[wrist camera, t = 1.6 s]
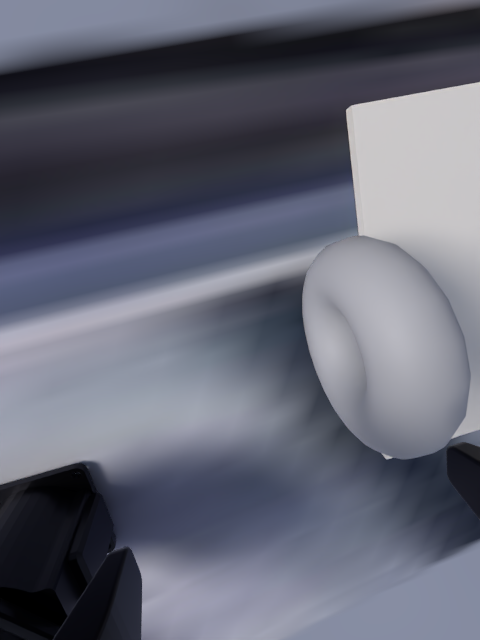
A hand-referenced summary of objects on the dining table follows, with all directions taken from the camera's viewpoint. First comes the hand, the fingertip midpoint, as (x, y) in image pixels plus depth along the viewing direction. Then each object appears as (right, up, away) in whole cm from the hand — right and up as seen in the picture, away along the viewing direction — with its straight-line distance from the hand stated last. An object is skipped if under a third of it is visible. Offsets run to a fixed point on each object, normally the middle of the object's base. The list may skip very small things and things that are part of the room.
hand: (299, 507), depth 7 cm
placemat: (+10, +6, +13) cm, 18 cm away
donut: (+4, +4, +12) cm, 14 cm away
